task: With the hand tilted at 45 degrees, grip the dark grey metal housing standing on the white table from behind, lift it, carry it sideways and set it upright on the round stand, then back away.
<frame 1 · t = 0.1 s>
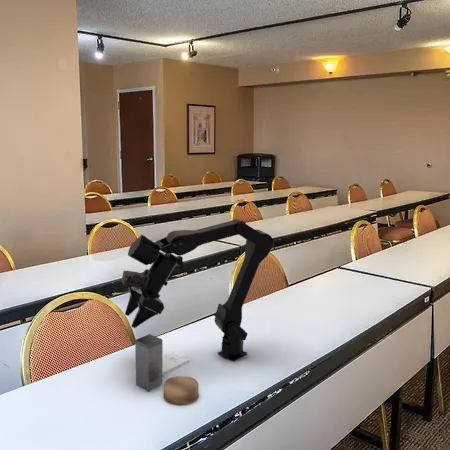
hand: (129, 320, 140), 15 cm above the table, tool tilted 35°, fingers open, 9 cm apart
stand: (181, 395, 131), on the table
external hard drive: (164, 367, 147), on the table
housing: (149, 384, 136), on the table
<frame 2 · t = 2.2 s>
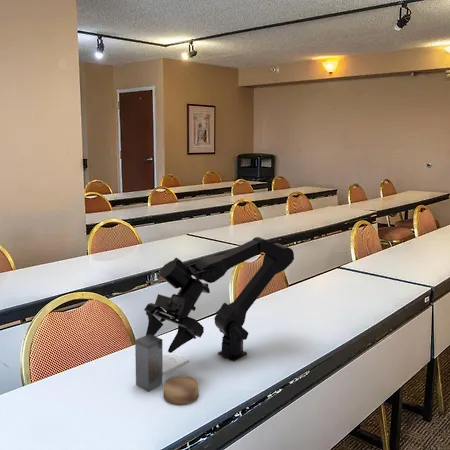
hand: (157, 346, 136), 10 cm above the table, tool tilted 45°, fingers open, 9 cm apart
nothing on the table moved.
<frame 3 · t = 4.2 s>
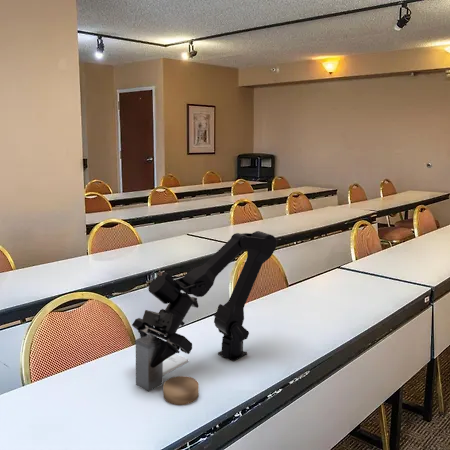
hand: (144, 363, 133), 7 cm above the table, tool tilted 45°, fingers closed on housing, 5 cm apart
housing: (149, 384, 136), on the table, touching gripper
everything else where it was.
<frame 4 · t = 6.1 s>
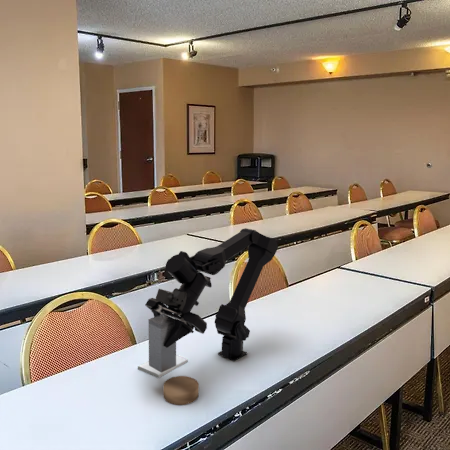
hand: (158, 343, 130), 13 cm above the table, tool tilted 45°, fingers closed on housing, 5 cm apart
housing: (162, 365, 133), point 7 cm above the table, touching gripper
everything else where it was.
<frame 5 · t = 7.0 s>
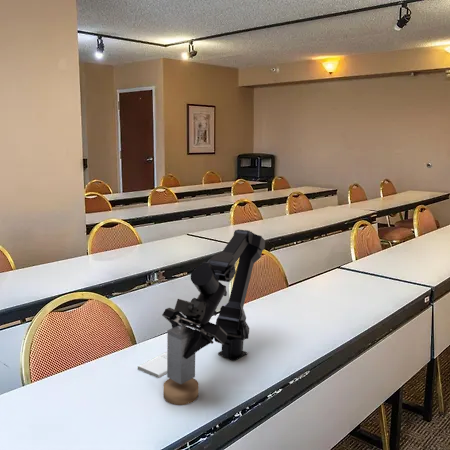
hand: (177, 354, 128), 12 cm above the table, tool tilted 45°, fingers closed on housing, 5 cm apart
housing: (181, 377, 130), point 5 cm above the table, touching gripper
everything else where it was.
when the fingers open (11 cm above the table, at t = 7.9 s): housing drops 1 cm, resting on stand.
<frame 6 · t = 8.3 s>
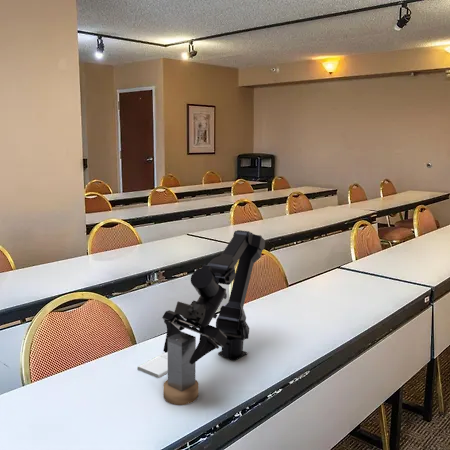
hand: (177, 357, 128), 11 cm above the table, tool tilted 45°, fingers open, 9 cm apart
housing: (181, 384, 130), point 3 cm above the table, touching stand
everything else where it was.
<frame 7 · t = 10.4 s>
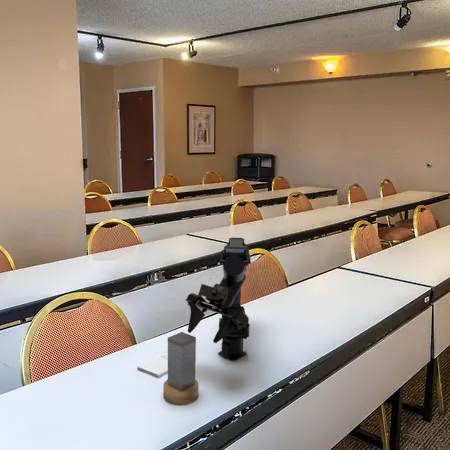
hand: (201, 337, 134), 14 cm above the table, tool tilted 45°, fingers open, 9 cm apart
nothing on the table moved.
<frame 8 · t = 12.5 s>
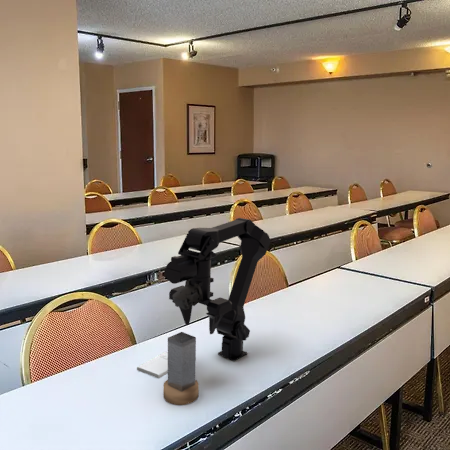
hand: (199, 329, 141), 13 cm above the table, tool pointing down, fingers open, 9 cm apart
nothing on the table moved.
at the end: housing 0.1 cm off-centre on the stand, point 3.0 cm above the stand's base; housing tilted 0°; the gripper is holding nothing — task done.
